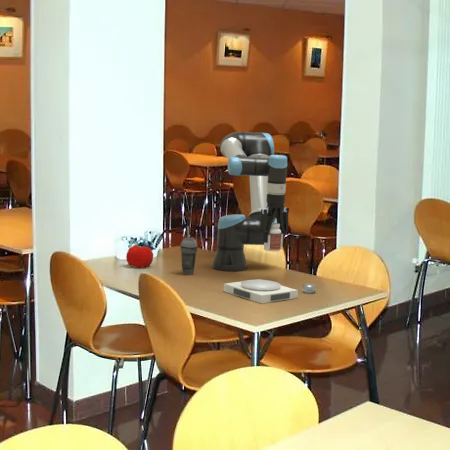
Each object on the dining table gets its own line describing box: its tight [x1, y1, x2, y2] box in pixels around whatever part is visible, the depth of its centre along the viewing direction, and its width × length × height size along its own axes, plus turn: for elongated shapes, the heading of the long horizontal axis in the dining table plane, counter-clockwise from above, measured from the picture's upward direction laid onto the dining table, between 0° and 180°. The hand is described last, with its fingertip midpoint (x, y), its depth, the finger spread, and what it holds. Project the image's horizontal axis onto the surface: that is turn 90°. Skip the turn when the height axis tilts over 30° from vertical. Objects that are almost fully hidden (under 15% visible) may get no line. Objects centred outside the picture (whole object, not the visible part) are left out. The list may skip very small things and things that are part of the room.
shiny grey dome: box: [302, 283, 317, 295], centre depth 320 cm, size 5×5×3 cm
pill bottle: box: [266, 223, 281, 253], centre depth 335 cm, size 6×6×11 cm
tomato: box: [125, 244, 154, 269], centre depth 356 cm, size 11×12×9 cm
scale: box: [223, 278, 299, 305], centre depth 312 cm, size 22×18×4 cm
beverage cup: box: [180, 226, 198, 276], centre depth 344 cm, size 7×7×20 cm
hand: (272, 249), depth 336 cm, fingers closed on pill bottle, 6 cm apart
